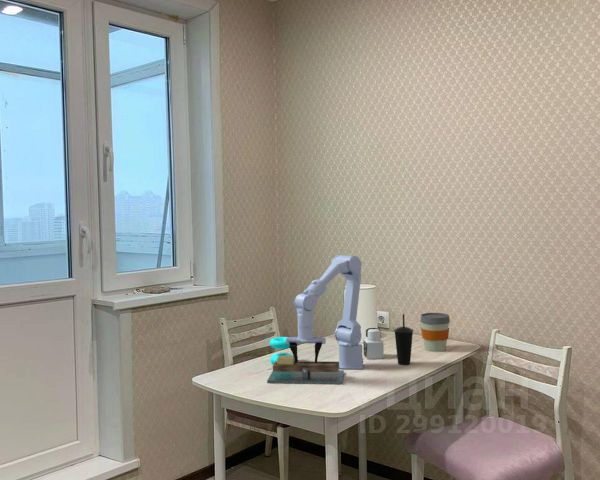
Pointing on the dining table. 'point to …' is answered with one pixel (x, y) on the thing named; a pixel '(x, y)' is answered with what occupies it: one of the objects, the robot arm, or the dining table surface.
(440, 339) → the reusable coffee cup
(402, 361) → the drinking cup
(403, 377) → the dining table surface
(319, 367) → the brown long flat tray
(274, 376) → the stand
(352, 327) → the robot arm
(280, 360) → the block
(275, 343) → the donuts
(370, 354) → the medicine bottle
